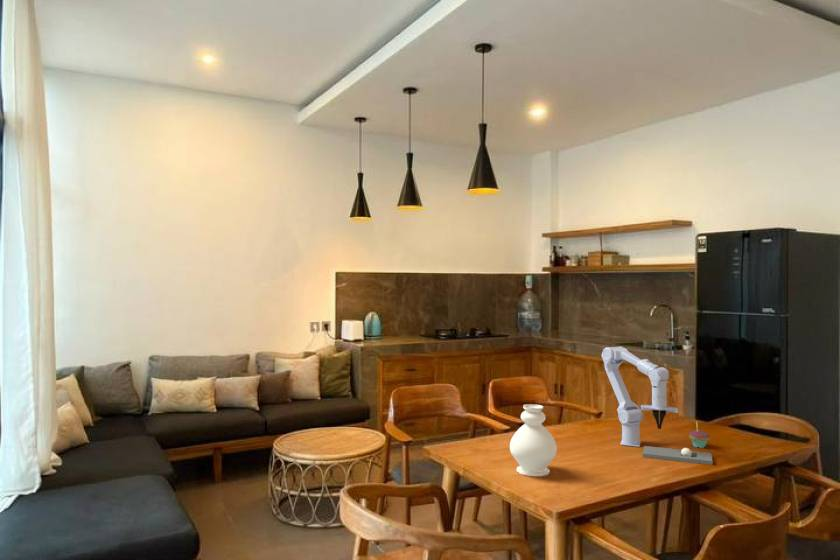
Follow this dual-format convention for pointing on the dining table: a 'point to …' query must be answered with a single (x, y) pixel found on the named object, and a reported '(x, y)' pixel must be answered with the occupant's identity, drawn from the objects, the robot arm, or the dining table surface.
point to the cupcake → (699, 437)
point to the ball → (686, 452)
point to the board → (677, 455)
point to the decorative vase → (533, 443)
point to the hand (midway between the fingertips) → (659, 428)
